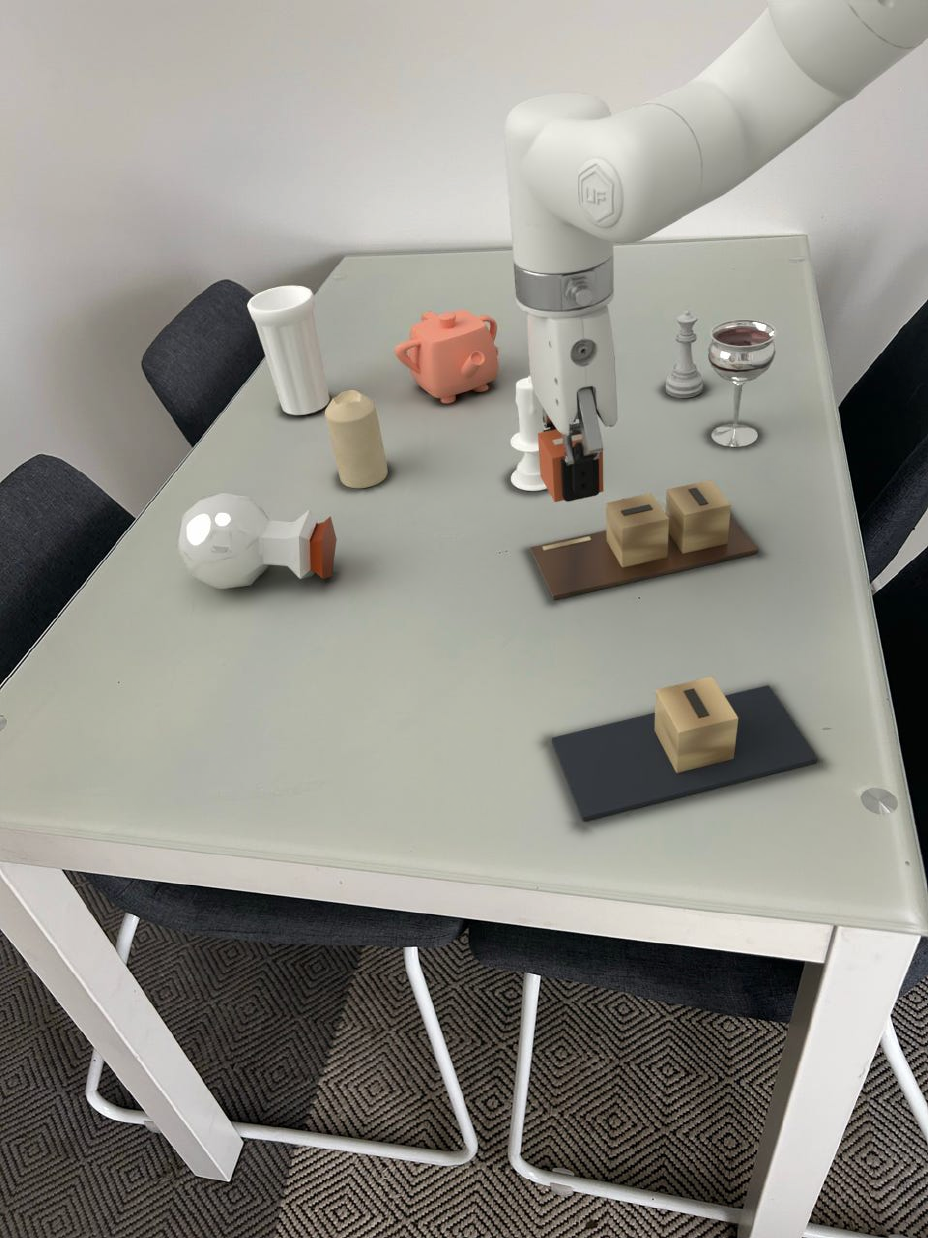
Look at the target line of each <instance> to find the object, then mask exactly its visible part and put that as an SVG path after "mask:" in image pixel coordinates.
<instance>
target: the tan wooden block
mask: <svg viewBox="0 0 928 1238" xmlns="http://www.w3.org/2000/svg"><path fill="white" fill-rule="evenodd" d="M665 491H666V493H665V494H666V495H665V514H666V515H667V517H668V518H669V527H668V533H669V534H670V536H671V537H672V539H673V540H674V542H675V543H676V544H677V546H678V547H679V549H680V550H681V552H682V553H683V554H684V553H688V552H693V551H697V550H702V549H706V548H710V547H715V546H719V545H723V544H727V543H728V531H729V520H730V515H731V509H732V505H731V503H730V501H729V500H728V499H727V498H726V497H725V495H724V494H723V493H722V492H721V491H720V489H719V488H718V486H717V485H716V484H715V483H714V482H713V481H712V480H711V479H709V480H704V481H699V482H695V483H691V484H686V485H681V486H676V487H671V488H668V489H666V490H665Z"/></svg>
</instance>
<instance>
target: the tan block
mask: <svg viewBox="0 0 928 1238" xmlns="http://www.w3.org/2000/svg"><path fill="white" fill-rule="evenodd" d="M725 696H726V695H725V694H724V692H723V690H722V689H721V688H720V686H719V684H718V683H717V681H716V679H715V677H714V676H712V675H711V676H708V677H704V678H700V679H695V680H691V681H686V682H683V683H678V684H674V685H670V686H665V687H661V688H658V689H657V688H656V689H655V698H654V699H655V700H654V713H655V732H656V734H657V736H658V738H659V740H660V742H661V744H662V746H663V748H664V750H665V752H666V754H667V756H668V758H669V760H670V762H671V763H672V765H673V767H674V769H675V771H676V773H679V772H683V771H687V770H691V769H695V768H699V767H703V766H707V765H711V764H715V763H719V762H723V761H727V760H731V759H734V751H735V743H736V734H737V725H738V717H737V715H736V713H735V712H734V710H733V709H732V707H731V705H730V704H729V702H728V700H727V699H726V697H725Z"/></svg>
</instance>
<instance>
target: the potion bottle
mask: <svg viewBox="0 0 928 1238" xmlns="http://www.w3.org/2000/svg"><path fill="white" fill-rule="evenodd" d="M332 519H333V518H332V516H329V517H328V518H326V519H325V520H324V521H323V522H318V521H317V520H316V517H315V516H314V514H313V512H312V510H311V509H308V510H307V511H306V512H305V513H303V514H302V515H301V516H299V517H298V518H297V519H296V520H294V521H293V522H292V521H282V520H281V521H280V520H270V518H269V516H267V514H266V512H265V511H264V510H263V508H262V507H261V506H260V505H259V504H258V503H257V502H256V501H255V500H254V499H253V498H252V497H249V496H246V495H241V494H237V493H230V492H221V493H216V494H209V495H205V496H202V497H201V498H200V499H199V500H198V501H197V502H196V503H195V504H194V505H192V506H191V507H190V508H189V509H187V510H186V512H184V513H183V514H182V515H181V516H180V521H179V527H178V532H177V538H176V544H175V548H176V549H177V551H178V553H179V555H180V557H181V559H182V561H183V563H184V565H185V567H186V568H187V570H188V572H189V573H190V575H191V576H192V577H194V578H195V579H196V580H198V581H199V582H200V583H202V584H203V585H206V586H209V587H212V588H215V589H218V590H224V589H233V588H240V587H249V586H252V585H253V584H254V582H256V580H257V579H258V578H259V577H260V576H261V575H262V573H264V572H265V571H266V570H267V569H268V568H269V566H271V565H273V566H285V567H288V568H289V569H290V570H291V571H292V572H293V574H295V576H296V577H297V578H298V579H300V580H302V579H307V578H312V577H313V575H314V574H315V573H316V574H317V575H318V576H319V577H320V578H321V579H329V578H332V577H333V570H334V563H335V554H336V548H337V540H338V539H337V536H336V531H335V527H334V523H333V520H332Z"/></svg>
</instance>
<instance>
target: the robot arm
mask: <svg viewBox="0 0 928 1238" xmlns="http://www.w3.org/2000/svg"><path fill="white" fill-rule="evenodd" d="M766 4H767V7H766V8H765V9H764V10H763V12H762V13H761V14H760V16H758V18H757V19H756V20H755V21H754V22H753V23H752V24H751V25H750V26H749V28H747V29H746V30H745V31H744V32H743V33H742V34H741V35H740V36H739V37H738V38H737V39H736V40H735V41H734V42H733V43H732V44H731V45H730V46H729V47H728V48H726V50H724V51H723V53H721V54H720V55H719V56H718V57H717V58H715V60H714V61H712V62H711V63H710V64H709V65H708V66H707V67H706V68H705V69H704V70H703V71H701V72H700V73H699V74H698V75H697V76H695V77H694V78H693V79H692V80H690V81H688V82H687V83H686V84H684V85H682V86H680V87H677V88H676V89H673V90H670V91H668V92H666V93H663V94H660V95H659V96H655V97H654V98H651V99H649V100H647V101H644V102H642V103H640V104H637V105H635V106H633V107H631V108H628V109H626V110H623V111H619V112H617V113H614V114H612V111H611V109H610V107H609V105H608V104H607V102H606V101H605V100H603V99H602V98H600V97H599V96H597V95H593V94H590V93H587V92H573V91H572V92H570V91H569V92H568V91H567V92H557V93H549V94H541V95H538V96H535V97H531V98H529V99H526V100H524V101H522V102H519V103H518V104H516V105H515V106H514V107H513V108H512V109H511V110H510V111H509V113H508V115H507V116H506V119H505V121H504V127H503V128H504V131H503V132H504V133H503V134H504V151H505V164H506V165H505V166H506V176H507V190H508V191H507V193H508V204H509V218H510V219H509V220H510V231H511V245H512V259H513V260H512V261H513V274H514V275H513V277H514V289H515V303H516V306H517V307H518V309H519V310H520V311H522V312H523V313H526V316H527V317H526V320H527V321H526V323H527V348H528V363H529V364H528V365H529V373H530V374H529V375H530V377H531V381H532V386H533V389H534V392H535V394H536V396H537V398H538V399H539V401H540V403H541V405H542V406H543V424H544V430H543V432H546V431H550V430H555V429H557V430H558V431H559V432H560V433H562V440H563V449H564V457H565V459H563V460H561V478H562V496H563V498H564V500H563V501H565V502H567V503H568V502H569V503H570V502H574V501H577V500H583V499H586V498H588V499H589V498H592V497H597V496H598V495H599V494H600V493H599V458H600V452H602V451H603V452H604V443H603V438H602V434H601V433H602V432H601V428H600V423H599V419H600V421H601V422H602V423H603V425H604V427H606V428H607V427H609V428H613V427H615V426H616V424H617V422H618V396H617V392H618V391H617V377H616V376H617V375H616V374H617V373H616V359H615V348H614V347H615V346H614V338H613V330H612V323H611V316H610V311H609V307H608V305H609V304H610V303H611V302H612V301H613V299H614V296H615V288H614V287H615V286H614V285H615V282H614V279H615V278H614V277H615V276H614V270H615V269H614V266H615V265H614V262H615V261H614V244H622V245H624V244H632V243H637V242H640V241H643V240H645V239H647V238H649V237H651V236H653V235H655V234H657V233H658V232H660V231H662V230H663V229H665V228H668V227H669V226H671V225H672V224H674V223H676V222H678V221H679V220H682V218H684V217H685V216H687V215H689V214H691V213H693V212H695V211H696V210H698V209H700V208H702V207H703V206H706V205H708V204H710V203H712V202H714V201H716V200H717V199H719V198H721V197H723V196H724V195H726V194H727V193H729V192H730V191H732V190H733V189H735V188H736V187H738V186H739V185H741V184H742V183H743V182H745V181H746V180H747V179H749V178H750V177H751V176H753V175H754V174H755V173H757V172H758V171H759V170H761V169H762V168H764V167H765V166H766V165H767V164H769V163H770V162H772V161H773V160H774V159H775V158H777V157H778V156H779V155H781V154H782V153H783V152H785V151H786V150H787V149H789V148H790V147H791V146H793V145H794V144H795V143H796V142H798V141H799V140H800V139H801V138H803V137H804V136H806V135H807V134H808V133H809V132H810V131H812V130H813V129H814V128H816V127H817V126H818V125H820V124H821V123H822V122H823V121H824V120H826V119H827V118H828V117H829V116H831V114H833V113H834V112H835V111H836V110H837V109H838V108H840V107H841V106H843V105H844V104H845V103H847V102H848V101H851V100H853V99H855V98H856V97H857V96H858V95H860V93H862V91H864V89H865V88H866V87H868V86H869V85H870V84H871V83H873V82H874V81H875V80H877V79H878V78H880V77H881V76H882V75H884V73H886V72H887V71H889V70H890V69H891V68H892V67H894V66H895V65H896V64H897V63H898V62H901V60H902V59H904V58H905V57H906V56H908V55H910V54H911V53H912V52H913V51H914V50H916V49H917V48H918V47H919V46H921V45H922V44H923V43H924V42H925V41H926V40H927V39H928V0H766ZM598 418H599V419H598ZM577 420H578V422H577ZM577 434H582V441H581V442H579V443H576V444H575V445H574V447H573V444H572V435H577Z"/></svg>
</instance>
